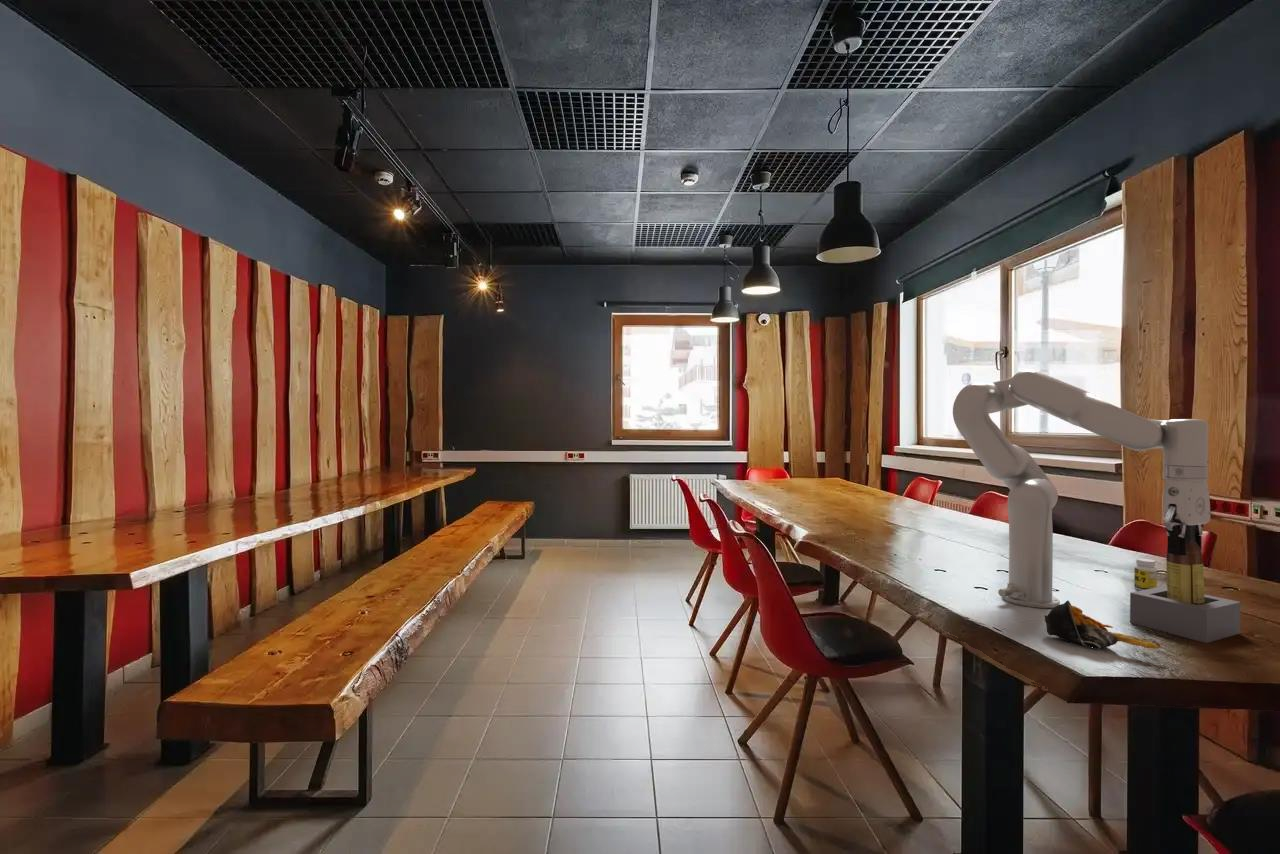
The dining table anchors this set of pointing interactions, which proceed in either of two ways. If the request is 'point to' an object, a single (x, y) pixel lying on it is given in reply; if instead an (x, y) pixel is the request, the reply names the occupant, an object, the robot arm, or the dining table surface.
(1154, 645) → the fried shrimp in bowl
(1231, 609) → the box
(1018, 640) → the dining table surface
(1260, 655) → the dining table surface
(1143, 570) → the supplement bottle
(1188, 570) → the sauce bottle
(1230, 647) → the dining table surface
